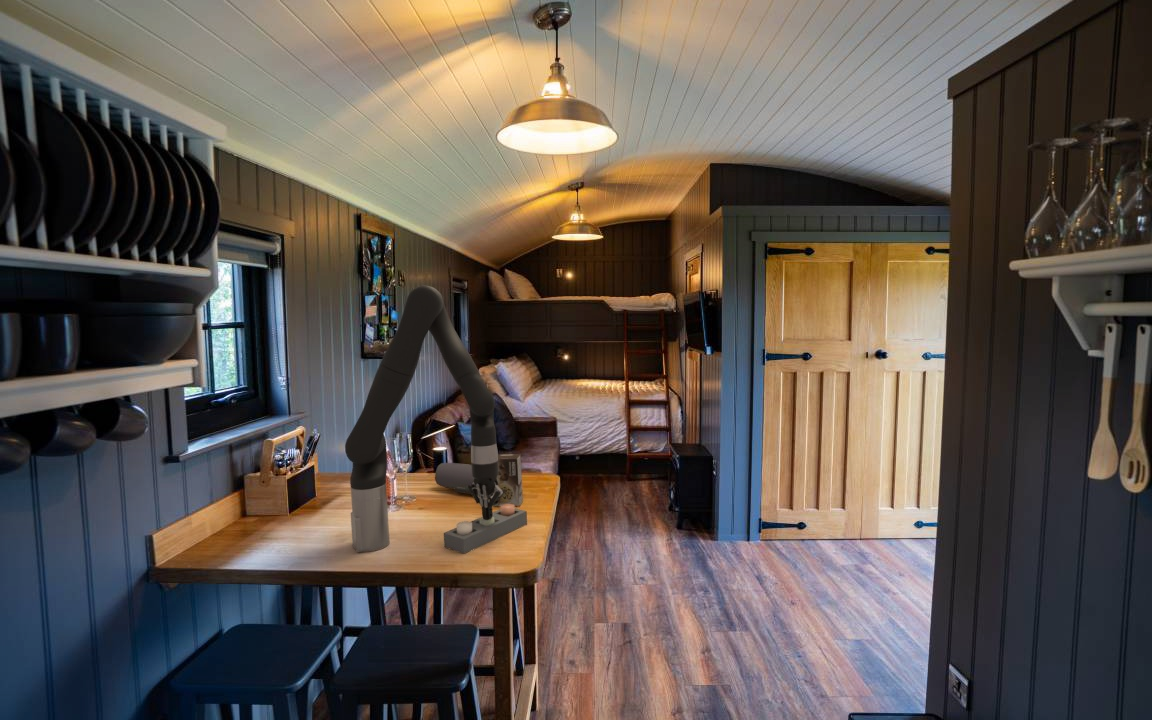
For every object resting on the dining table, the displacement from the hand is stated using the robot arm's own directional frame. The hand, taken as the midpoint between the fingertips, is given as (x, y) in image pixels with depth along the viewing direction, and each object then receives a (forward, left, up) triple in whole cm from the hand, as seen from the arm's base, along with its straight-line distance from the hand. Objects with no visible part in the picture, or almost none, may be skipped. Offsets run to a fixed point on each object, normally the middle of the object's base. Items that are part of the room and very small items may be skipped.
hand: (487, 518), depth 162 cm
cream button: (-8, -3, -2) cm, 9 cm away
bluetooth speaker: (+11, +41, -5) cm, 43 cm away
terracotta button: (+8, +3, -2) cm, 9 cm away
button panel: (0, 0, -5) cm, 5 cm away
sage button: (0, 0, -3) cm, 3 cm away
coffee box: (+17, +21, -5) cm, 28 cm away
